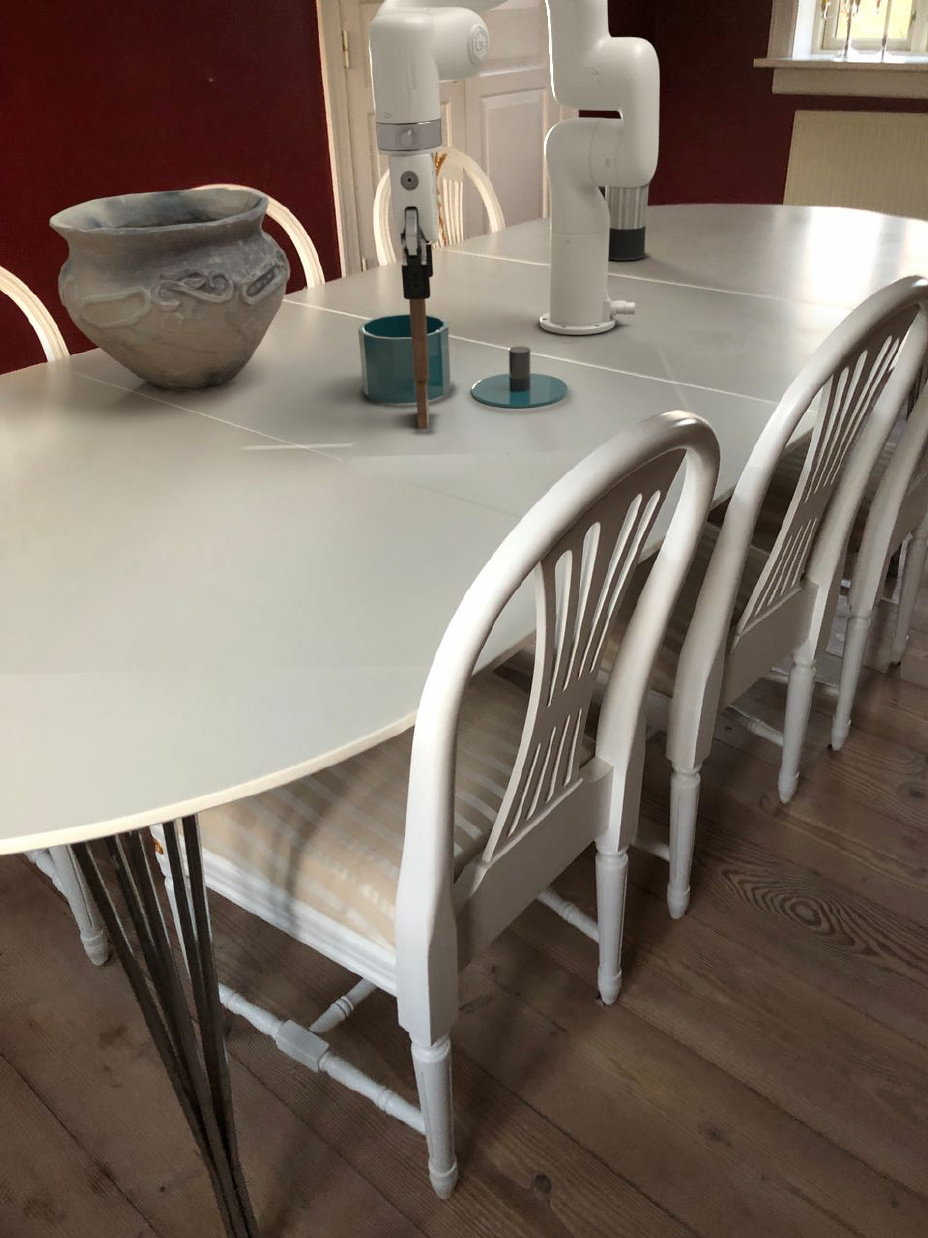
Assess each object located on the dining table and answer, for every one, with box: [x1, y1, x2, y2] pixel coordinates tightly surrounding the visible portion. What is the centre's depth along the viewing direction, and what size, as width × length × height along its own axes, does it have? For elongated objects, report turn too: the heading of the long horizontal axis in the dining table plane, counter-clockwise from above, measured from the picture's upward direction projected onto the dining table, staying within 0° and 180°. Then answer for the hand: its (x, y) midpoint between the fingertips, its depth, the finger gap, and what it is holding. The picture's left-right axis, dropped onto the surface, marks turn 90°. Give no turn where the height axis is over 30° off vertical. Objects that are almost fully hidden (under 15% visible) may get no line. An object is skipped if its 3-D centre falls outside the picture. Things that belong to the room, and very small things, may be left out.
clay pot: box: [49, 187, 291, 392], centre depth 151 cm, size 33×32×25 cm
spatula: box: [408, 299, 430, 430], centre depth 133 cm, size 2×6×18 cm, turn 179°
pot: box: [358, 313, 452, 404], centre depth 146 cm, size 12×12×10 cm
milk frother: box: [598, 180, 651, 262], centre depth 211 cm, size 14×16×15 cm
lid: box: [471, 345, 569, 409], centre depth 144 cm, size 13×13×7 cm
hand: (419, 287), depth 129 cm, fingers open, 9 cm apart
